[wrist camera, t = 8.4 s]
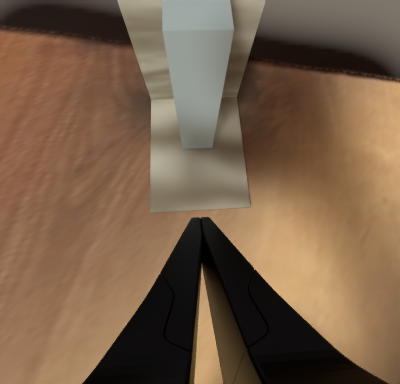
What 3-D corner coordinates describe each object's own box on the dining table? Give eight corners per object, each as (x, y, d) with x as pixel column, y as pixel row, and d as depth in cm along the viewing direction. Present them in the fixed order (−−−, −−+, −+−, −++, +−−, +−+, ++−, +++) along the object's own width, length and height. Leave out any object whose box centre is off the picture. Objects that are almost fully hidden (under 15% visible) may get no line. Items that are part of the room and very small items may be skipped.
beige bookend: (249, 207, 19) (304, 182, 9) (151, 212, 19) (101, 192, 9) (234, 89, 23) (263, -18, 13) (152, 92, 22) (118, -16, 12)
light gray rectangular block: (218, 147, 20) (249, 29, 8) (182, 149, 20) (162, 30, 8) (214, 104, 21) (236, -50, 10) (181, 105, 21) (161, -49, 9)
